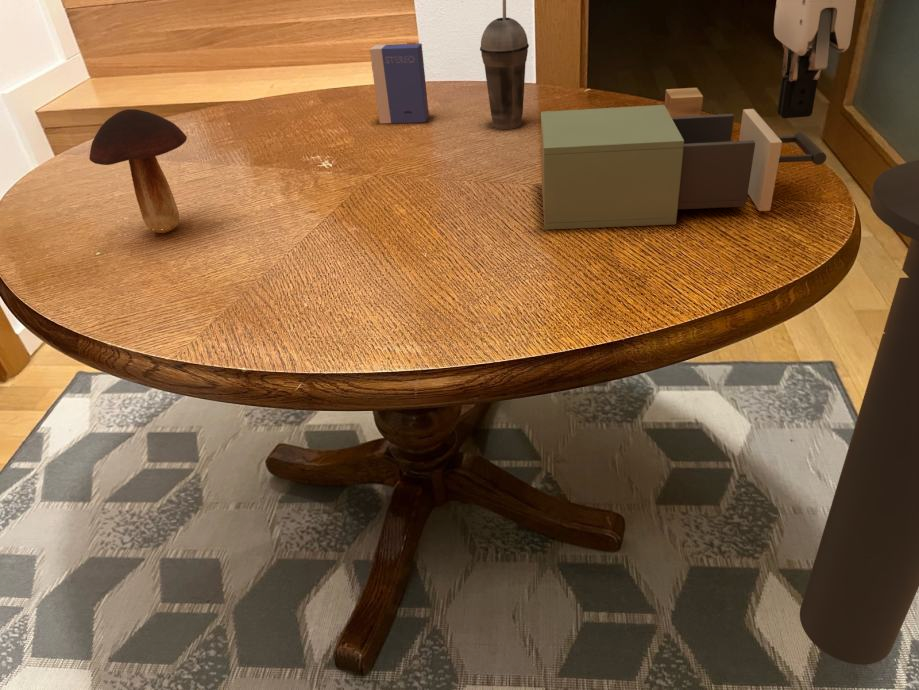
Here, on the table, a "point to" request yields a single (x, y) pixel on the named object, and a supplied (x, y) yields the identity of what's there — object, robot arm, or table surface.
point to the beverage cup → (505, 69)
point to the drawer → (733, 160)
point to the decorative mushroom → (142, 160)
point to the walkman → (400, 83)
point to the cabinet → (610, 167)
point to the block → (683, 102)
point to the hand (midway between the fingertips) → (794, 114)
